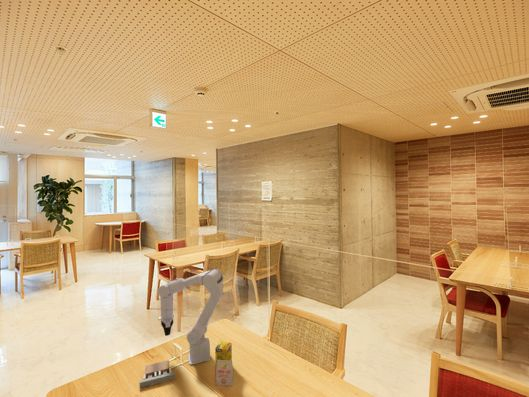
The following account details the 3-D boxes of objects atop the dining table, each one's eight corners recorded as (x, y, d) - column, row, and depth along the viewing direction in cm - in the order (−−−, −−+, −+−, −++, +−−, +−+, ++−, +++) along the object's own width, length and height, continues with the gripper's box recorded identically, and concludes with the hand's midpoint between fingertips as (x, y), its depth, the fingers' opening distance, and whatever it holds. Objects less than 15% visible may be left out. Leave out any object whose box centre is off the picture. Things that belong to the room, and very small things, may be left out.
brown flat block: (168, 365, 127) (168, 360, 127) (170, 377, 119) (169, 371, 119) (145, 371, 123) (145, 365, 123) (145, 383, 115) (144, 378, 115)
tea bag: (217, 379, 118) (217, 356, 117) (233, 380, 117) (232, 357, 116) (215, 385, 114) (215, 362, 113) (231, 386, 113) (231, 363, 113)
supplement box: (228, 373, 121) (227, 349, 120) (215, 372, 122) (214, 348, 122) (232, 365, 127) (231, 342, 126) (220, 363, 128) (219, 340, 127)
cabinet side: (174, 372, 122) (174, 367, 122) (175, 378, 118) (175, 373, 118) (140, 380, 117) (139, 375, 117) (139, 388, 113) (139, 382, 113)
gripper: (157, 303, 139) (158, 329, 140) (158, 315, 126) (159, 344, 126) (172, 300, 142) (172, 326, 143) (174, 312, 129) (175, 341, 129)
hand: (167, 334), depth 135 cm, fingers closed
